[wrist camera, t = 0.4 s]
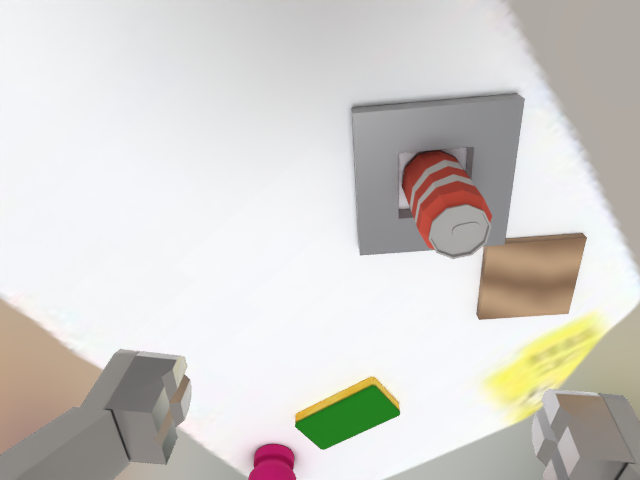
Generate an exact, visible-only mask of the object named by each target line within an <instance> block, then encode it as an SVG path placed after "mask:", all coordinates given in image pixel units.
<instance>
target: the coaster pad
mask: <svg viewBox="0 0 640 480" xmlns="http://www.w3.org/2000/svg"><path fill="white" fill-rule="evenodd" d="M586 239H587V237H586V236H585V235H584V234H583V233H580V234H566V235H552V236H539V237H525V238H512V239H505V245H496V246H484V253H483V262H482V271H481V280H480V289H479V298H478V307H477V316H478V319H479V320H481V319H496V318H511V317H526V316H542V315H557V314H568V313H569V309H570V305H571V301H572V297H573V293H574V289H575V284H576V280H577V276H578V272H579V268H580V264H581V260H582V255H583V251H584V247H585V243H586Z"/></svg>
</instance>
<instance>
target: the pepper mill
mask: <svg viewBox="0 0 640 480" xmlns="http://www.w3.org/2000/svg"><path fill="white" fill-rule="evenodd" d="M293 468H294V454H293V452H292V451H291V450H290V449H289V448H287V447H285V446H283V445H278V444H270V445H265V446H263V447H261V448H259V449H258V450H257V451H256V453H255V458H254V469H253V470H252V472H251V473H250V475H249V479H248V480H296V477H295V474H294V472H293V471H292V470H293Z"/></svg>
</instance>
